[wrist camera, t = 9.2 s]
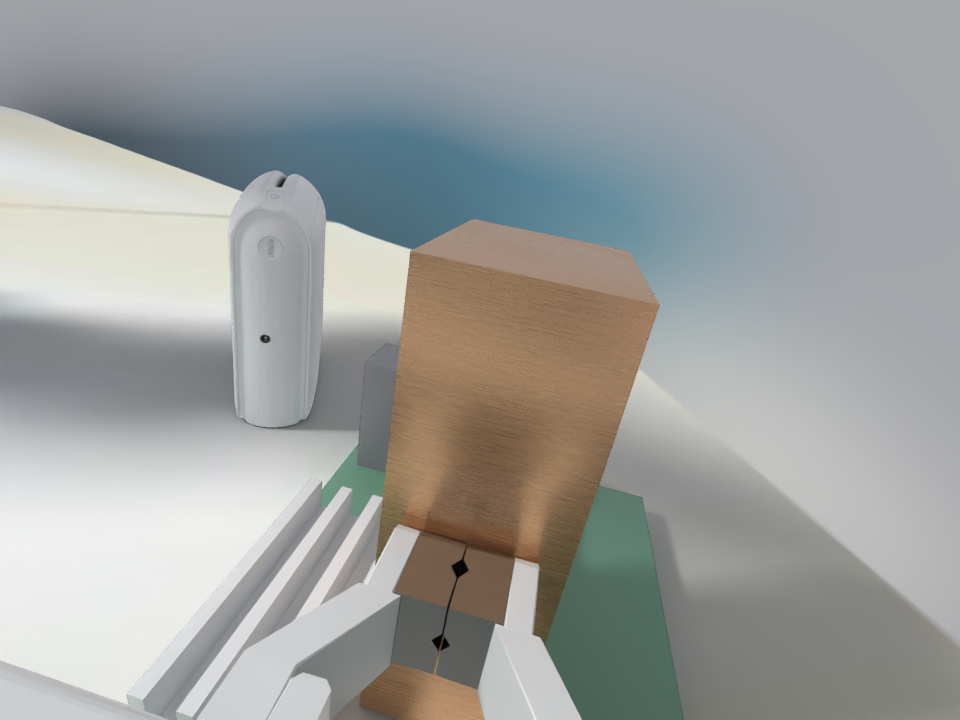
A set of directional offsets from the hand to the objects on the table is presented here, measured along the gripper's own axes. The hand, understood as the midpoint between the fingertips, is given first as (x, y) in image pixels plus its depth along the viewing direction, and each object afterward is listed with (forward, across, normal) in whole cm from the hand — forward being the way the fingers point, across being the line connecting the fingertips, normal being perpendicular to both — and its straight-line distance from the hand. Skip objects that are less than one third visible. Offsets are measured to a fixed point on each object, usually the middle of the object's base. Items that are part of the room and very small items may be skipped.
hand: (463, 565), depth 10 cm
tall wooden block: (+5, 0, +6) cm, 8 cm away
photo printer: (+17, +14, +8) cm, 23 cm away
